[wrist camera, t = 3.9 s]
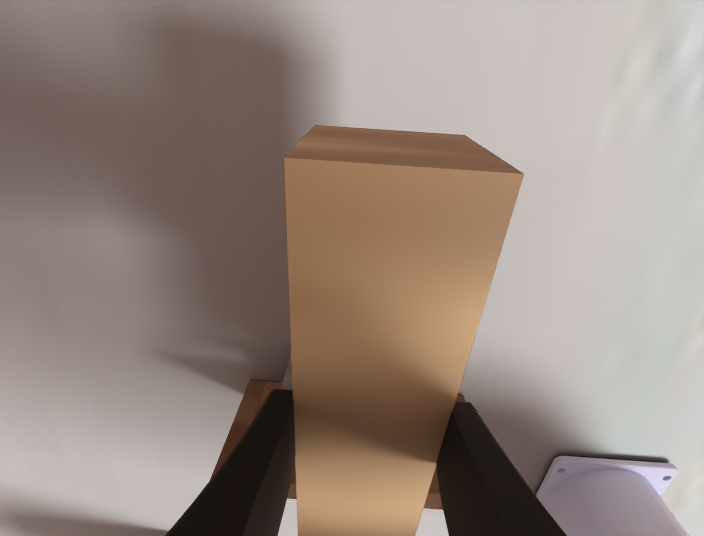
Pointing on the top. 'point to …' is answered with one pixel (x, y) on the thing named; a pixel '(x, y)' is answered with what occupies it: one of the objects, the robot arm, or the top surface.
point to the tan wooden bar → (383, 312)
